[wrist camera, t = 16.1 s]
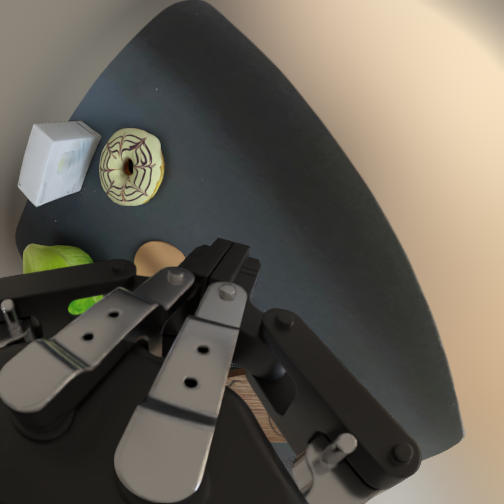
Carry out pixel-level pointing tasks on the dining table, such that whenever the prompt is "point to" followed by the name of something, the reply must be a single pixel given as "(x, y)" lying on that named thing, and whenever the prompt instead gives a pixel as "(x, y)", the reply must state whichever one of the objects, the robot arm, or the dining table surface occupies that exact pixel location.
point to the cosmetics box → (56, 160)
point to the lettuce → (58, 258)
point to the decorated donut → (144, 171)
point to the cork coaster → (156, 257)
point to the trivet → (253, 404)
